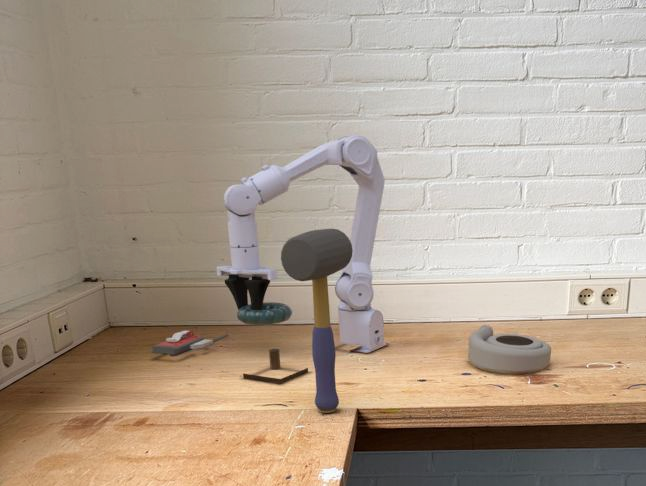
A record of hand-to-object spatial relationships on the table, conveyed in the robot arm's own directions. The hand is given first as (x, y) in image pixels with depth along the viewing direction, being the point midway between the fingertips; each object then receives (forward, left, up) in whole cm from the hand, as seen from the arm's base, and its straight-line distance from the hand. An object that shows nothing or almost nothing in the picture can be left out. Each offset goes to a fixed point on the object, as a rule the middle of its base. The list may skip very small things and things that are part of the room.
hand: (250, 312), depth 167 cm
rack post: (-13, +9, -10) cm, 18 cm away
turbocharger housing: (-51, -17, -10) cm, 55 cm away
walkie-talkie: (+17, +1, -10) cm, 20 cm away
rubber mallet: (-35, +23, -10) cm, 43 cm away
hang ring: (-4, 0, 0) cm, 4 cm away
